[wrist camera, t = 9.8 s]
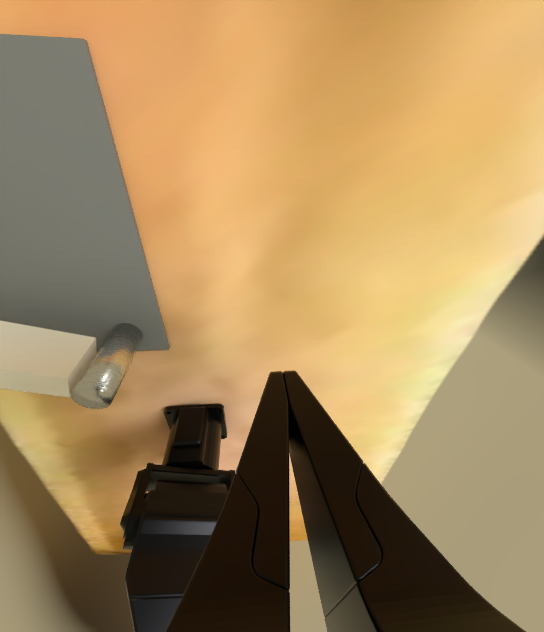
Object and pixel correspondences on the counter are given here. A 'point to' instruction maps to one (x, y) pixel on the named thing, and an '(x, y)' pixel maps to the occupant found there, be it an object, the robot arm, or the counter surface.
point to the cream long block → (43, 359)
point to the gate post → (108, 367)
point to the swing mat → (66, 200)
